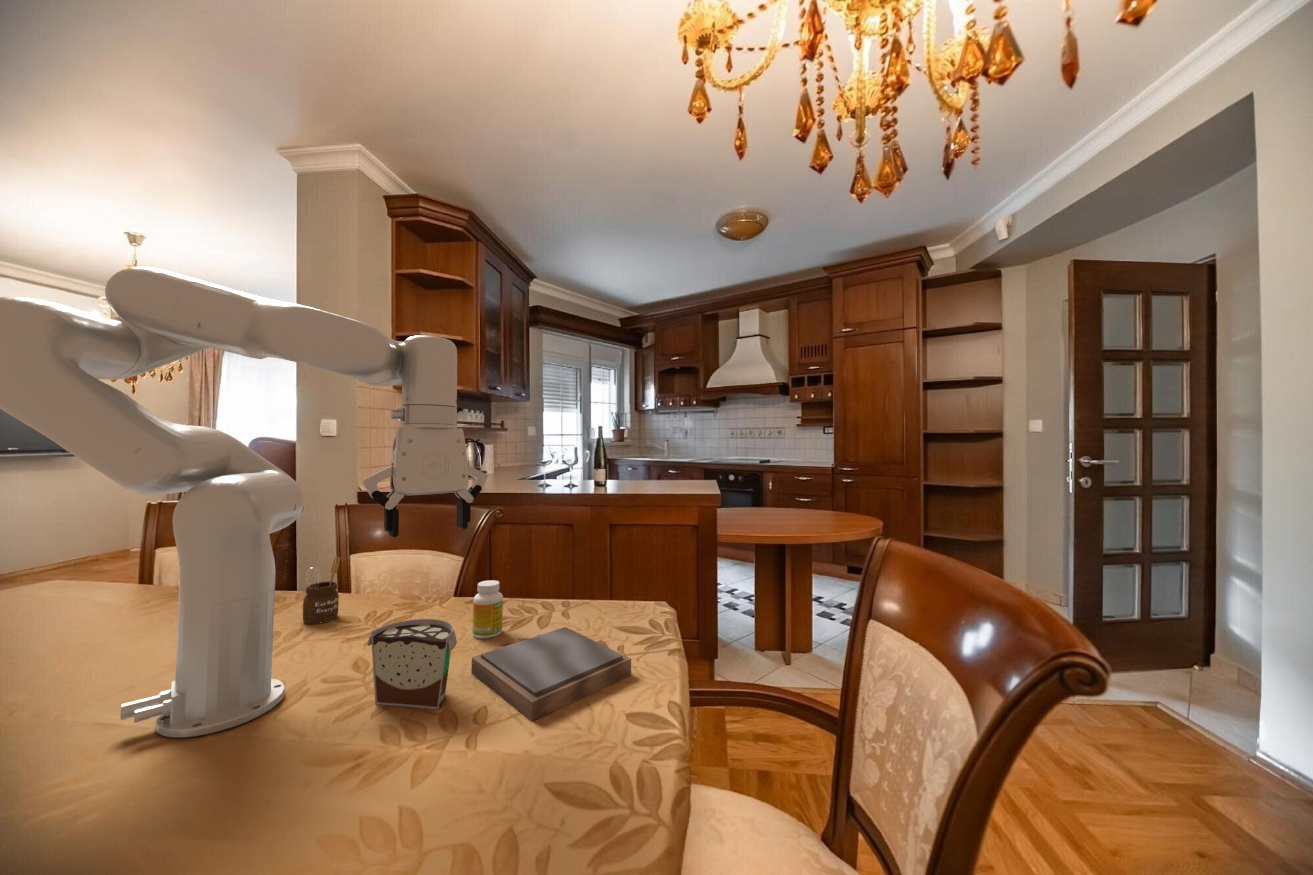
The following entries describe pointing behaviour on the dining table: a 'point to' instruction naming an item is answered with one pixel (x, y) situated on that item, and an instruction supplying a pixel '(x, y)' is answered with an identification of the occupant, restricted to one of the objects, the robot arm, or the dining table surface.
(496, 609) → the supplement bottle
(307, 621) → the utensil holder
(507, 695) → the podium
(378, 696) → the food container
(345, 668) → the dining table surface
